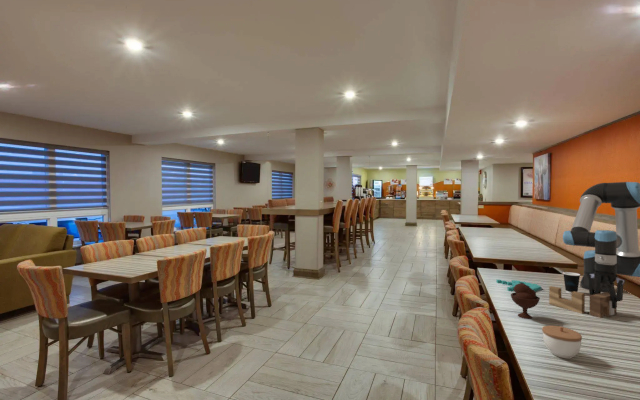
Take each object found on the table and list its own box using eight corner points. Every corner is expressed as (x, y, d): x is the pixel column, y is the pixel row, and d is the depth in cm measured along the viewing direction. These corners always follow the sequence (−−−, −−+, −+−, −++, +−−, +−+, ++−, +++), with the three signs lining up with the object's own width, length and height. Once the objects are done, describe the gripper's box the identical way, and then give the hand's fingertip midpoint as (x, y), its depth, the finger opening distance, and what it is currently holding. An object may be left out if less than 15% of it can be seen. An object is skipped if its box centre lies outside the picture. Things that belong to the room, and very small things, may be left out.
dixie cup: (574, 291, 180) (574, 272, 180) (583, 295, 172) (583, 275, 172) (559, 290, 182) (559, 271, 182) (567, 294, 174) (567, 274, 174)
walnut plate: (605, 310, 148) (605, 292, 148) (616, 313, 144) (616, 294, 144) (589, 315, 142) (589, 295, 142) (600, 318, 139) (600, 298, 139)
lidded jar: (534, 347, 111) (534, 321, 111) (562, 346, 112) (562, 320, 112) (560, 362, 100) (560, 334, 100) (590, 361, 101) (590, 333, 101)
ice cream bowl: (531, 323, 132) (531, 288, 132) (505, 314, 142) (505, 282, 142) (544, 318, 137) (544, 285, 137) (519, 310, 147) (519, 279, 147)
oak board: (552, 303, 158) (552, 286, 158) (584, 312, 145) (584, 293, 145) (549, 304, 157) (549, 286, 157) (581, 313, 144) (581, 294, 144)
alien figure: (508, 291, 180) (547, 294, 176) (508, 288, 180) (547, 290, 176) (496, 282, 199) (530, 284, 195) (496, 279, 199) (530, 281, 195)
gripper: (579, 260, 150) (579, 308, 150) (625, 267, 135) (625, 320, 135) (588, 259, 153) (587, 306, 153) (633, 266, 138) (633, 318, 138)
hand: (605, 312), depth 144 cm, fingers closed on walnut plate, 4 cm apart
